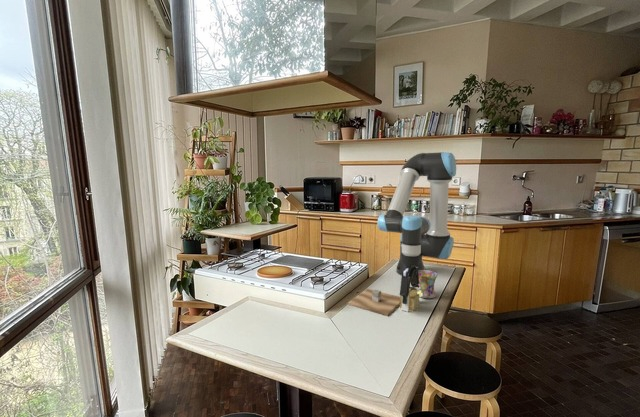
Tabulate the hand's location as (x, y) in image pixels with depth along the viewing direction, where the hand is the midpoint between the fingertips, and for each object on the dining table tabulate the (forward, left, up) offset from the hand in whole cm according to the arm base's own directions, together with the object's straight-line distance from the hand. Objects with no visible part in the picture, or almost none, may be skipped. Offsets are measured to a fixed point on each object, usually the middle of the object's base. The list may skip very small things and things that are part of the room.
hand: (409, 306), depth 128 cm
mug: (-15, +1, 0) cm, 15 cm away
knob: (0, 0, 0) cm, 0 cm away
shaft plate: (+4, -13, 0) cm, 14 cm away
